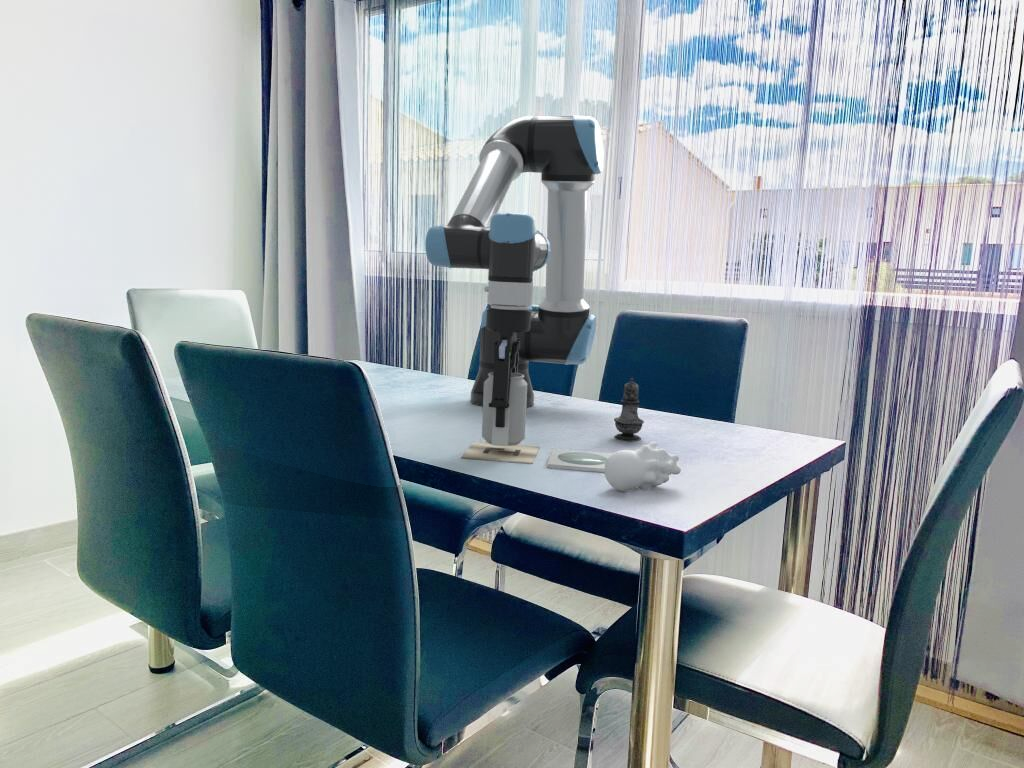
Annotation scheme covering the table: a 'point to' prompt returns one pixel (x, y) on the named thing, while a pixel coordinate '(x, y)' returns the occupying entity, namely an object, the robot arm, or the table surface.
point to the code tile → (501, 453)
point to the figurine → (640, 468)
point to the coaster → (578, 460)
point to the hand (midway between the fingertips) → (503, 439)
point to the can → (516, 409)
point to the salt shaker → (629, 414)
